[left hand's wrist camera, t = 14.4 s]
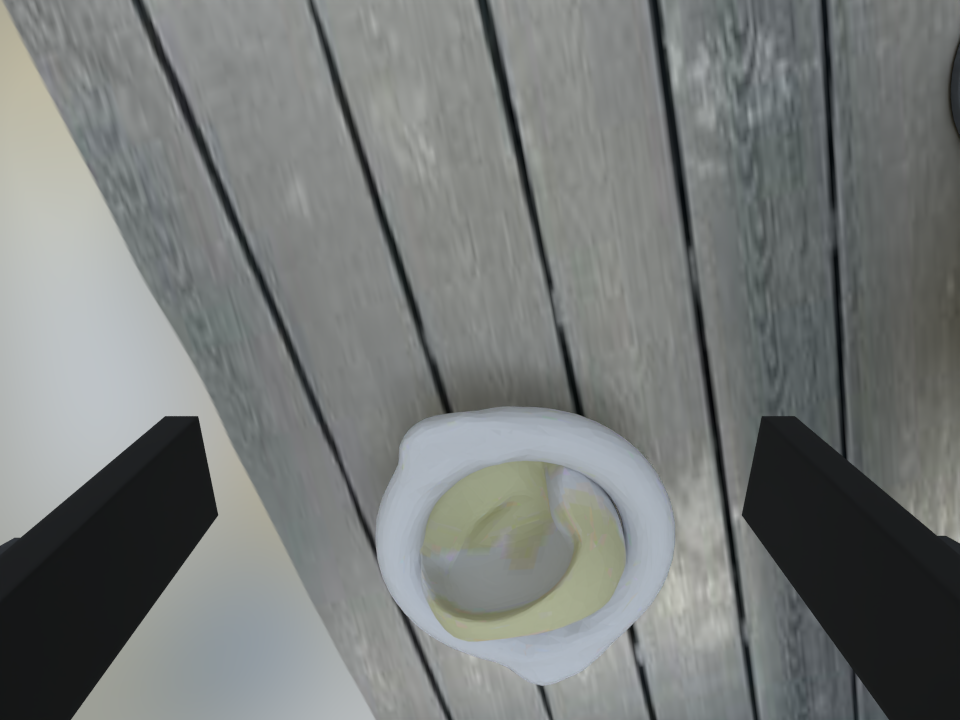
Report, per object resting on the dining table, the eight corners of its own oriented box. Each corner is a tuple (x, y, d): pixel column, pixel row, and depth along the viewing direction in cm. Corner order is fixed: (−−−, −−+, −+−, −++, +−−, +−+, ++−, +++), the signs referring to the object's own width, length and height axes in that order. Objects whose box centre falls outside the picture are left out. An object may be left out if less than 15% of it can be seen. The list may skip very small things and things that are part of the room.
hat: (680, 553, 50) (755, 710, 36) (459, 622, 53) (449, 791, 39) (593, 310, 42) (646, 390, 28) (339, 409, 45) (273, 525, 31)
